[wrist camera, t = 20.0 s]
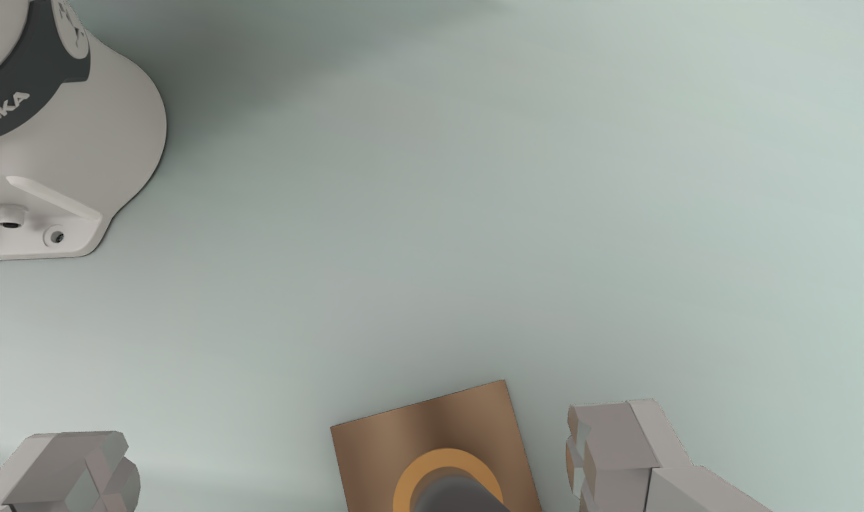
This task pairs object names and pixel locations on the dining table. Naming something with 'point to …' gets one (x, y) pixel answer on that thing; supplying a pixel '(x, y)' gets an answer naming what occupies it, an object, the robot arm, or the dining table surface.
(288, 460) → the dining table surface
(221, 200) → the dining table surface
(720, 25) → the dining table surface
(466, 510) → the plug
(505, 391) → the pad
